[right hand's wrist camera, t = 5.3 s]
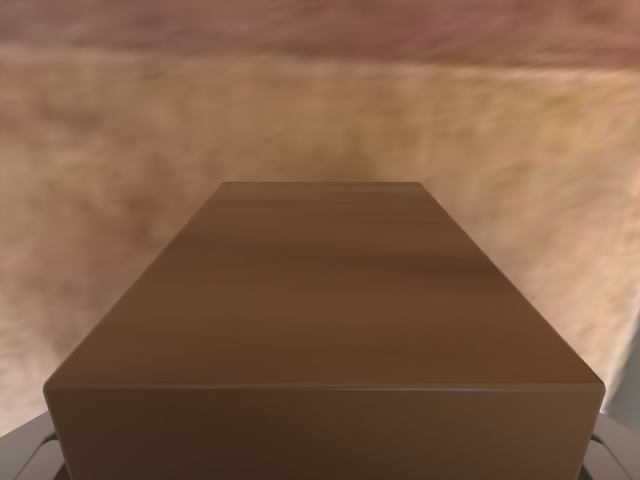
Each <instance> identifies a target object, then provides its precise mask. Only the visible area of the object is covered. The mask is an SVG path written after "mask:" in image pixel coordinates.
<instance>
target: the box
mask: <svg viewBox="0 0 640 480" xmlns="http://www.w3.org/2000/svg"><path fill="white" fill-rule="evenodd" d="M605 392H606V389H605V385H604V382H603V381H602V380H601V379H600V378H599V377H598V376H597V375H596V374H595V373H594V372H593V370H592V369H591V368H590V367H589V366H588V365H587V364H586V363H585V362H584V361H583V360H582V358H581V357H580V356H579V355H578V354H577V353H576V352H575V351H574V350H573V349H572V348H571V347H570V345H569V344H568V343H567V342H566V341H565V340H564V339H563V338H562V337H561V336H560V335H559V333H558V332H557V331H556V330H555V329H554V328H553V327H552V326H551V325H550V324H549V323H548V321H547V320H546V319H545V318H544V317H543V316H542V315H541V314H540V313H539V312H538V311H537V309H536V308H535V307H534V306H533V305H532V304H531V303H530V302H529V301H528V300H527V299H526V298H525V296H524V295H523V294H522V293H521V292H520V291H519V290H518V289H517V288H516V287H515V286H514V284H513V283H512V282H511V281H510V280H509V279H508V278H507V277H506V276H505V275H504V274H503V272H502V271H501V270H500V269H499V268H498V267H497V266H496V265H495V264H494V263H493V262H492V260H491V259H490V258H489V257H488V256H487V255H486V254H485V253H484V252H483V251H482V250H481V248H480V247H479V246H478V245H477V244H476V243H475V242H474V241H473V240H472V239H471V238H470V237H469V235H468V234H467V233H466V232H465V231H464V230H463V229H462V228H461V227H460V226H459V225H458V223H457V222H456V221H455V220H454V219H453V218H452V217H451V216H450V215H449V214H448V213H447V211H446V210H445V209H444V208H443V207H442V206H441V205H440V204H439V203H438V202H437V201H436V199H435V198H434V197H433V196H432V195H431V194H430V193H429V192H428V191H427V190H426V189H425V188H424V186H423V185H422V184H421V183H419V182H224V183H222V185H221V186H220V187H219V188H218V189H217V190H216V191H215V192H214V194H213V195H212V196H211V197H210V198H209V199H208V200H207V201H206V202H205V204H204V205H203V206H202V207H201V208H200V209H199V210H198V211H197V213H196V214H195V215H194V216H193V217H192V218H191V219H190V220H189V222H188V223H187V224H186V225H185V226H184V227H183V228H182V229H181V231H180V232H179V233H178V234H177V235H176V236H175V237H174V238H173V239H172V241H171V242H170V243H169V244H168V245H167V246H166V247H165V248H164V250H163V251H162V252H161V253H160V254H159V255H158V256H157V257H156V259H155V260H154V261H153V262H152V263H151V264H150V265H149V266H148V268H147V269H146V270H145V271H144V272H143V273H142V274H141V275H140V276H139V278H138V279H137V280H136V281H135V282H134V283H133V284H132V285H131V287H130V288H129V289H128V290H127V291H126V292H125V293H124V294H123V296H122V297H121V298H120V299H119V300H118V301H117V302H116V303H115V305H114V306H113V307H112V308H111V309H110V310H109V311H108V312H107V313H106V315H105V316H104V317H103V318H102V319H101V320H100V321H99V322H98V324H97V325H96V326H95V327H94V328H93V329H92V330H91V331H90V333H89V334H88V335H87V336H86V337H85V338H84V339H83V340H82V341H81V343H80V344H79V345H78V346H77V347H76V348H75V349H74V350H73V352H72V353H71V354H70V355H69V356H68V357H67V358H66V359H65V361H64V362H63V363H62V364H61V365H60V366H59V367H58V368H57V370H56V371H55V372H54V373H53V374H52V375H51V376H50V377H49V378H48V380H47V381H46V382H45V384H44V386H43V393H44V396H45V400H46V403H47V406H48V409H49V412H50V416H51V419H52V422H53V425H54V428H55V432H56V435H57V438H58V441H59V444H60V448H61V451H62V454H63V457H64V460H65V464H66V467H67V470H68V473H69V476H70V480H577V479H578V476H579V473H580V470H581V467H582V464H583V461H584V457H585V454H586V451H587V448H588V445H589V442H590V439H591V436H592V433H593V429H594V426H595V423H596V420H597V417H598V414H599V411H600V408H601V405H602V402H603V398H604V395H605Z"/></svg>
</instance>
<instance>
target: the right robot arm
mask: <svg viewBox="0 0 640 480" xmlns="http://www.w3.org/2000/svg"><path fill="white" fill-rule="evenodd" d="M0 480H70V476H69V473H68V470H67V467H66V464H65V460H64V457H63V454H62V451H61V448H60V444H59V441H58V438H57V435H56V432H55V428H54V425H53V422H52V419H51V416H50V412H49V411H47V412H45V413H43V414H42V415H40V416H38V417H36V418H35V419H33V420H31V421H29V422H27V423H26V424H24V425H22V426H20V427H19V428H17V429H15V430H13V431H12V432H10V433H8V434H6V435H5V436H3V437H1V438H0ZM577 480H640V435H639V434H637V433H635V432H633V431H632V430H630V429H628V428H626V427H625V426H623V425H621V424H619V423H617V422H616V421H614V420H612V419H610V418H609V417H607V416H605V415H603V414H601V413H600V412H599V414H598V417H597V420H596V423H595V426H594V429H593V433H592V436H591V439H590V442H589V445H588V448H587V451H586V454H585V457H584V461H583V464H582V467H581V470H580V473H579V476H578V479H577Z"/></svg>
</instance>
